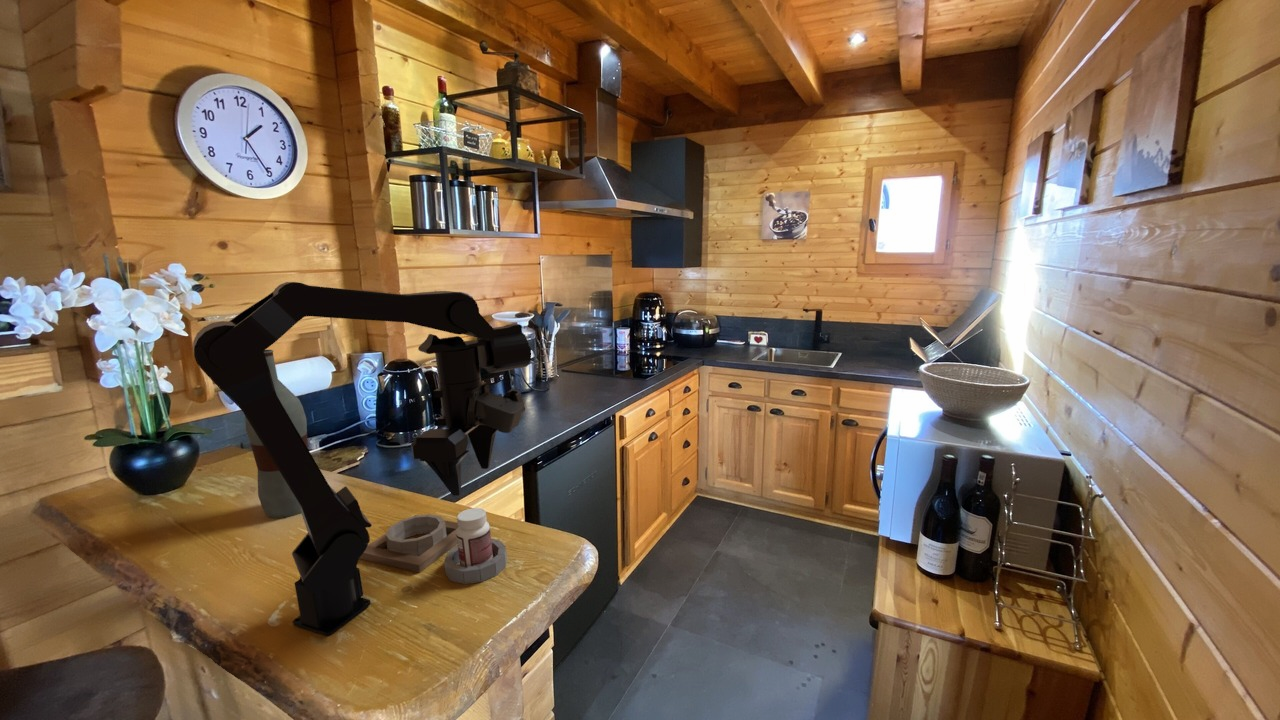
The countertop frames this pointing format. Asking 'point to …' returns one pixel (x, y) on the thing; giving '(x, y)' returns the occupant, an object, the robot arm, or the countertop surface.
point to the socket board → (413, 543)
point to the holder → (476, 572)
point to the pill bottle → (473, 538)
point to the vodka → (270, 481)
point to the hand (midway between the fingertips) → (471, 481)
